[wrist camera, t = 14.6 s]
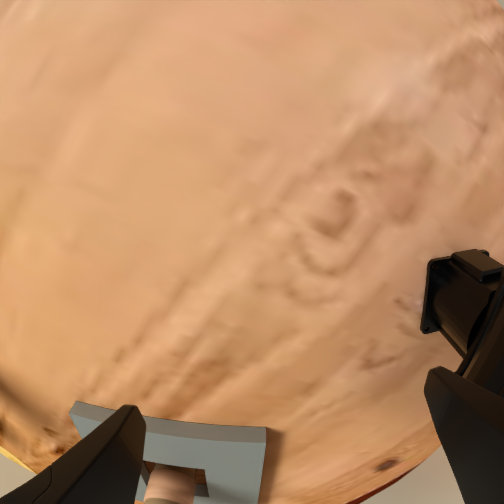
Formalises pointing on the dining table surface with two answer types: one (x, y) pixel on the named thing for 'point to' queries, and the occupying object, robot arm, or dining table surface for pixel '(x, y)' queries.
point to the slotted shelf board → (195, 453)
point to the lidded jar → (171, 485)
